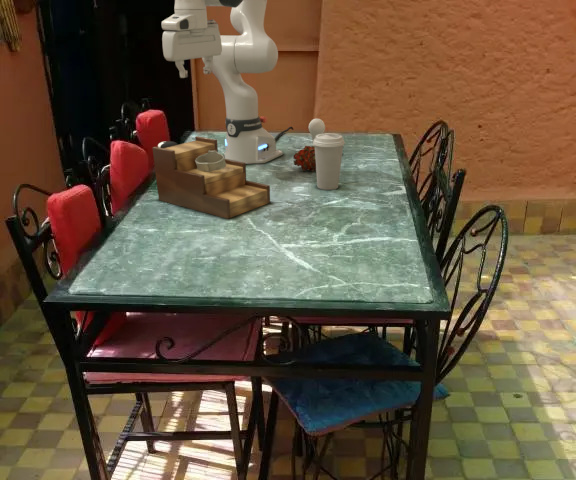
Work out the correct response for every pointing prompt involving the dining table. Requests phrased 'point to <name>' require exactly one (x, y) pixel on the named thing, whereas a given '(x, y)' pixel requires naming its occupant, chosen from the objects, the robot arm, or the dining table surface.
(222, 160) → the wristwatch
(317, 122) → the lightbulb
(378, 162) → the dining table surface
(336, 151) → the coffee cup
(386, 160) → the dining table surface
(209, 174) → the step shelf
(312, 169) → the dragon fruit
